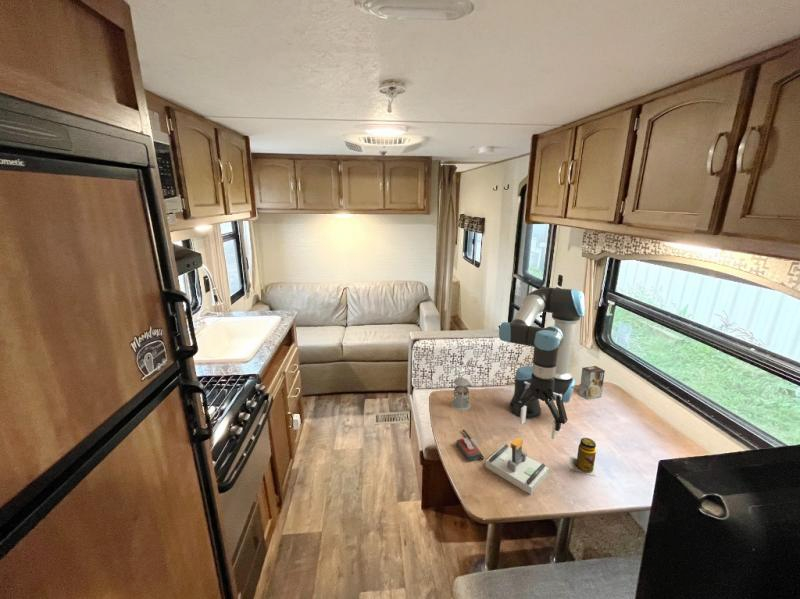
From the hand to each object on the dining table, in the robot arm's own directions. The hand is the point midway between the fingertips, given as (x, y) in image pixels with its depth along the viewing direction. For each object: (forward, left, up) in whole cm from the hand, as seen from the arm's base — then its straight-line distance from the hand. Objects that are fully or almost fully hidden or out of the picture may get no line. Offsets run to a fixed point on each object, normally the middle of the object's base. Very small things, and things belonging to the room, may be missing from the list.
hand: (537, 429), depth 123 cm
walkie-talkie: (+2, -29, -23) cm, 37 cm away
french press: (-23, -51, -22) cm, 60 cm away
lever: (0, -7, -18) cm, 19 cm away
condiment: (-21, +10, -22) cm, 32 cm away
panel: (0, -7, -22) cm, 23 cm away
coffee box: (-81, -7, -22) cm, 84 cm away
